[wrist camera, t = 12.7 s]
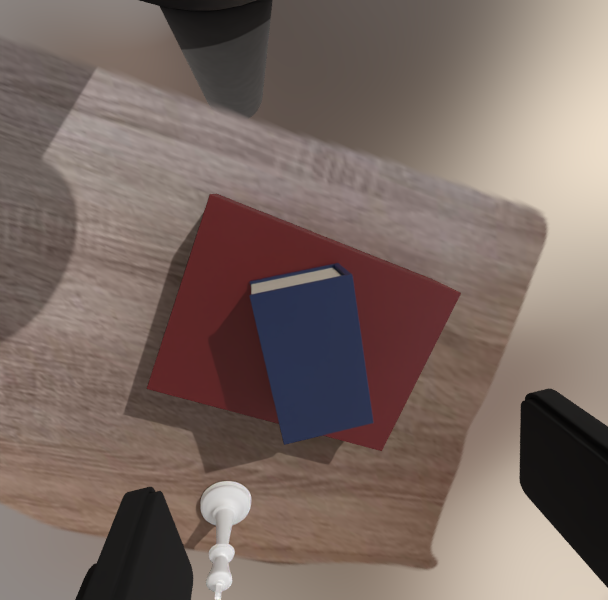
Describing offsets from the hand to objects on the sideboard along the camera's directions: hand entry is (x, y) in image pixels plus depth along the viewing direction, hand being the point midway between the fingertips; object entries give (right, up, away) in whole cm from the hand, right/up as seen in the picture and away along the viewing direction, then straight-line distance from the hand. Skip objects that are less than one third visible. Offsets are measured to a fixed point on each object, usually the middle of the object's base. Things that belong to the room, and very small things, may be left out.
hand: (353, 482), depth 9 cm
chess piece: (-9, -15, +27) cm, 33 cm away
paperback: (-1, +1, +19) cm, 19 cm away
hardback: (-2, +3, +23) cm, 23 cm away
